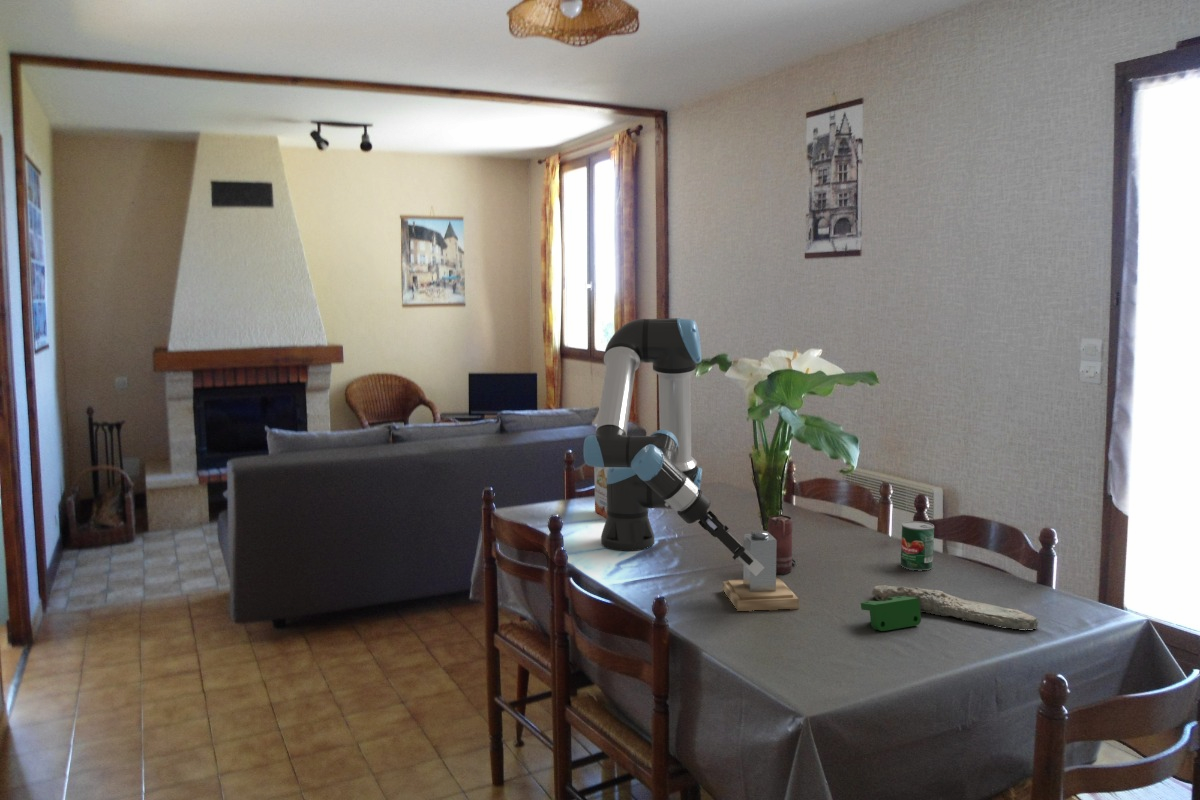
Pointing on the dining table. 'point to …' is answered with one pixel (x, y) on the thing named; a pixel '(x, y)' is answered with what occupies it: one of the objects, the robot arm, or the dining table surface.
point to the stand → (760, 597)
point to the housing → (761, 561)
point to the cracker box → (601, 490)
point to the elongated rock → (959, 607)
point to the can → (782, 541)
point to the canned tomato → (917, 545)
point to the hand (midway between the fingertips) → (751, 562)
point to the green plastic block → (893, 612)
